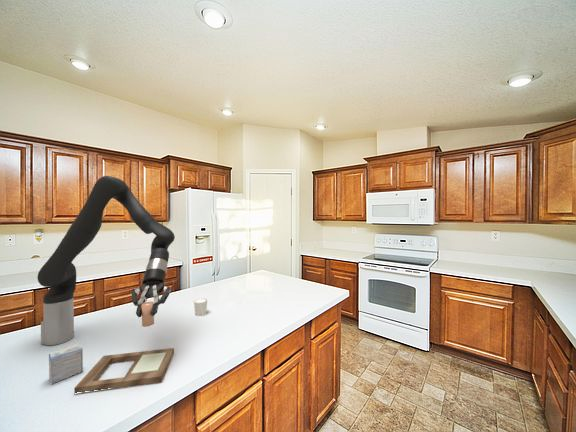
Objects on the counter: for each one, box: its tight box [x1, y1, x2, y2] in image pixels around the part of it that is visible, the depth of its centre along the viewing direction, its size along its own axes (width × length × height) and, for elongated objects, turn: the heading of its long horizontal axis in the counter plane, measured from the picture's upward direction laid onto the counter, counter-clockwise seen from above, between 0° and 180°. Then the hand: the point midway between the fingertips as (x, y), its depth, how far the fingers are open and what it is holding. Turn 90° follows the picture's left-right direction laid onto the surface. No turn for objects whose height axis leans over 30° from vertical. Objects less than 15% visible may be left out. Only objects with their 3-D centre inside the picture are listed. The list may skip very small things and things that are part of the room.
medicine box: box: [48, 343, 84, 385], centre depth 79 cm, size 8×4×9 cm, turn 141°
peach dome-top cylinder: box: [141, 301, 155, 328], centre depth 85 cm, size 4×4×8 cm
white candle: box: [193, 298, 208, 317], centre depth 127 cm, size 7×7×7 cm
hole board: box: [73, 347, 175, 394], centre depth 81 cm, size 24×16×2 cm, turn 103°
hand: (146, 315), depth 83 cm, fingers closed on peach dome-top cylinder, 3 cm apart
